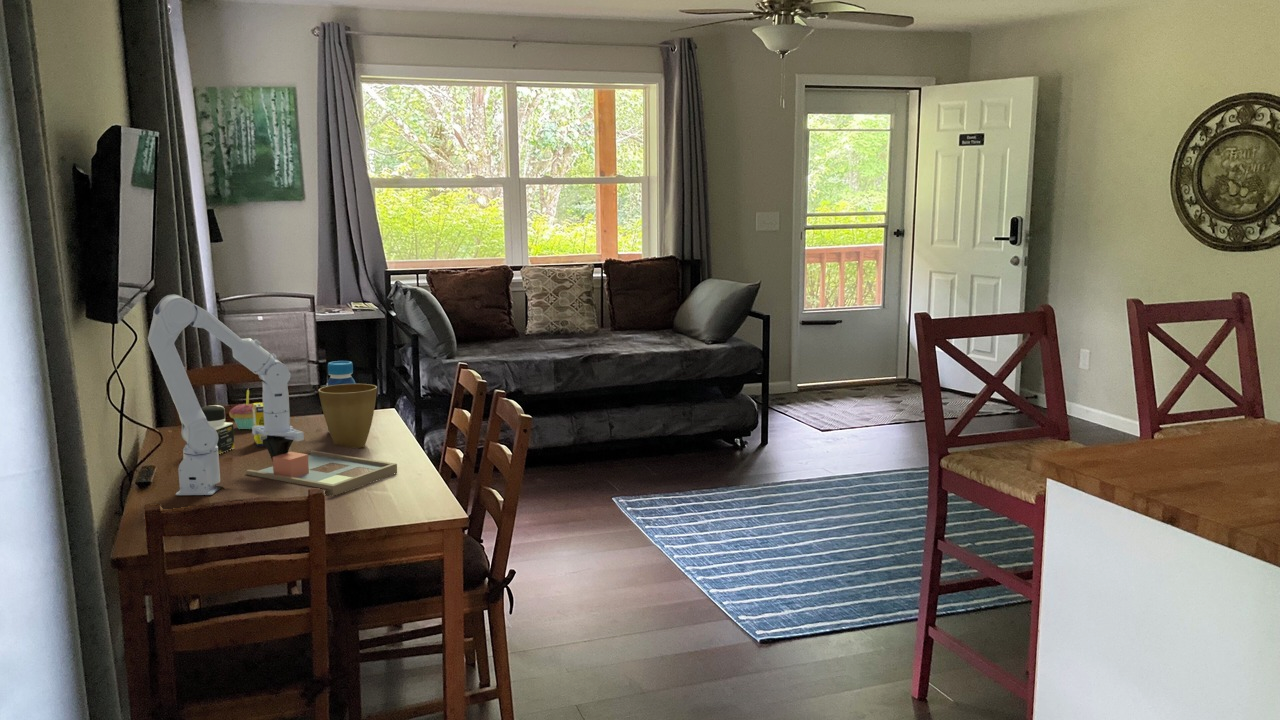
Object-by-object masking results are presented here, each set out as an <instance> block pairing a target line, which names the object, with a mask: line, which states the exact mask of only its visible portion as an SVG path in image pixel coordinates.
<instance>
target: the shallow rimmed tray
mask: <svg viewBox="0 0 1280 720" xmlns="http://www.w3.org/2000/svg"><path fill="white" fill-rule="evenodd" d="M308 464H309V473H308V474H304V475H301V476H298V477H289V476H284V475H278V474H274V473H273V465H272V466H269V467H265V468H262V469H259V470H255V469H247V470H245V473H246V474H245V475H248V476H254V477H259V478H265V479H268V480H269V479H270V480H276V481H280V482H281V481H282V482H287V483H292V484H297V485H303V486H309V487H313V488H320V489H325V494H326V495H325V496H329V495H331V496H330V497H335V496H334V495H336V496H338V495H337V494H339V495H341V494H340V493H342V494H344V493H343V492H345V491H347V492H349V491H348V490H350V491H352V490H351V489H353V488H356V489H358V488H360V487H359V486H361V487H363V486H362V485H364V486H366V485H365V484H367V485H369V484H371V483H370V482H372V483H374V482H373V481H375V482H377V481H376V480H378V481H380V480H382V478H383V479H385V477H386V478H389V477H391V476H393V475H392V474H394V473H397V474H398V464H397V463H394V462H388V461H382V460H376V459H369V458H364V457H356V456H350V455H345V454H344V455H343V454H338V453H331V452H326V451H320V450H310V454H308ZM329 464H337V465H343V466H345V467H342V468H339V469H335V470H333V471H330V472H323V471H318V470H313V469H316V468H319V467H323V466H326V465H329ZM357 468H362V469H368V470H371V471H367V472H365V473H362V474H359V475H355V476H346V475H340V474H341V473H346V472H348V471H351V470H353V469H357ZM390 475H391V476H390ZM394 475H395V474H394ZM388 476H389V477H388ZM379 479H380V480H379ZM368 483H369V484H368ZM357 487H358V488H357ZM353 490H354V489H353ZM345 493H346V492H345ZM332 495H333V496H332Z"/></svg>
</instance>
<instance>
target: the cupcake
mask: <svg viewBox="0 0 1280 720" xmlns="http://www.w3.org/2000/svg"><path fill="white" fill-rule="evenodd" d="M249 389H250V388H249V387H248V388H247V390H246V397H245V400H246V402H245V403H239V404H236V405H235V406H233V407H232V408H231V409H230V410H229V412H228V415H229V417H230V418H231V419H233V420H234V423H235V425H236V427H237V429H238V430H240V429H249V430H252V427H254V424H253V408H252V404H253V403H250V390H249Z"/></svg>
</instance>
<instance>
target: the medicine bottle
mask: <svg viewBox="0 0 1280 720" xmlns="http://www.w3.org/2000/svg"><path fill="white" fill-rule="evenodd" d="M201 409H202V411H203V413H204V415H205V417H206V419H207V421H208V423H209V424H210V426H212V427H213V428H214V429H215V430H216V431H217V433H218V443H217V445H216V446H218V455H219V454H220V455H222V454H224V453H223V452H225V453H227V452H229V451H228V450H230V451H231V449H232V450H234V449H235V448H236V447H235V433H234V423H233V422H227V421H226V411H225V407H224V406H222V405H218V404H214V405H210V404H209V405H205V406H203V407H201ZM226 451H227V452H226ZM221 453H222V454H221ZM220 455H219V456H220Z"/></svg>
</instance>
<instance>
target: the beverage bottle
mask: <svg viewBox="0 0 1280 720" xmlns="http://www.w3.org/2000/svg"><path fill="white" fill-rule="evenodd" d="M327 373H328V376H330V377H329V378H328V380H327V381H326V384H325V385H326V386H332V385H340V384H357V382H356V381H355V379H354V378H353V376H352V374H353V373H354V364H353V362H352V361H349V360H337V361H336V360H335V361H330V362H328V363H327ZM326 386H325V387H326ZM327 432H328V433H329V434H330V432H329V429H328V428H327Z"/></svg>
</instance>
